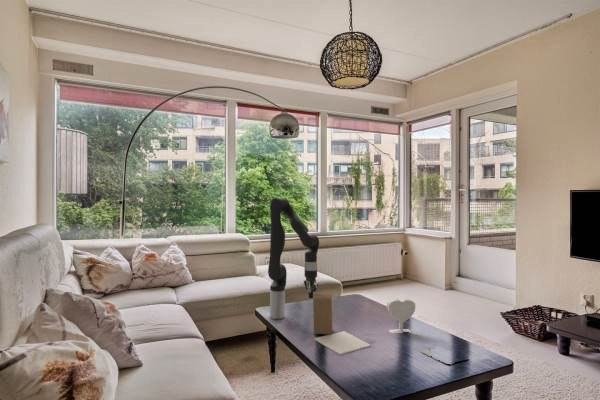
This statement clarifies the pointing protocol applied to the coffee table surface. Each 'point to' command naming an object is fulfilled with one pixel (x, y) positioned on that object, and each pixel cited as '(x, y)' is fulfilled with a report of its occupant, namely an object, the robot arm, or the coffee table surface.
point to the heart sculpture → (401, 312)
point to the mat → (342, 342)
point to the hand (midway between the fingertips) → (310, 298)
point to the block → (322, 313)
